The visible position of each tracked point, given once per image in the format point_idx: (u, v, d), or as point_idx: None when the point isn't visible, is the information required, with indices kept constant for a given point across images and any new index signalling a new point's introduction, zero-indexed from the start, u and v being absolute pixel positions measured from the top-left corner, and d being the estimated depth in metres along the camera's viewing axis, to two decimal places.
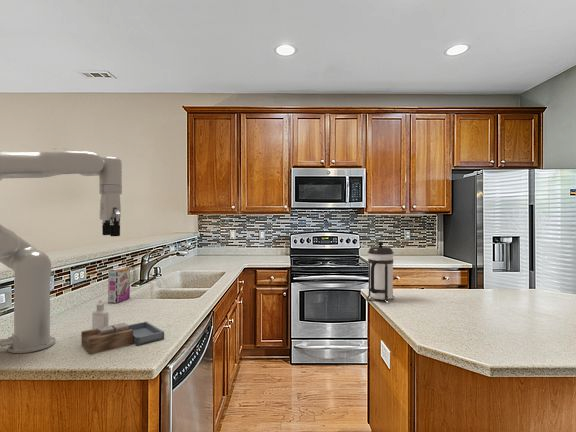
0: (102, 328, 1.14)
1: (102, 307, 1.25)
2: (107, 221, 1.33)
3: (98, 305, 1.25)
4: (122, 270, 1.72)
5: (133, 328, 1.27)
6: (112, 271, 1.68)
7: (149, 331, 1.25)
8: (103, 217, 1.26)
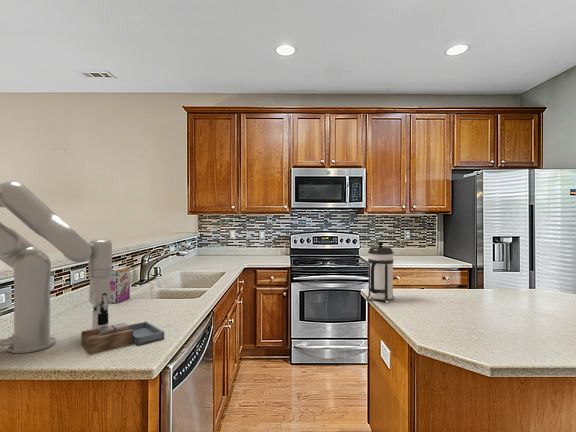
0: (102, 328, 1.14)
1: None
2: None
3: None
4: (122, 270, 1.72)
5: (133, 328, 1.27)
6: (112, 271, 1.68)
7: (149, 331, 1.25)
8: (92, 302, 1.23)
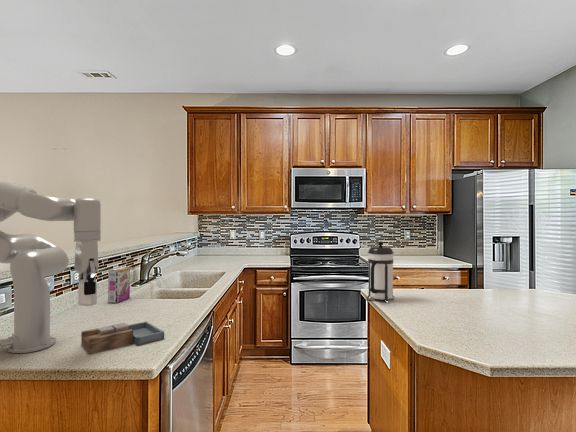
0: (102, 328, 1.14)
1: None
2: None
3: None
4: (122, 270, 1.72)
5: (133, 328, 1.27)
6: (112, 271, 1.68)
7: (149, 331, 1.25)
8: (77, 269, 1.08)
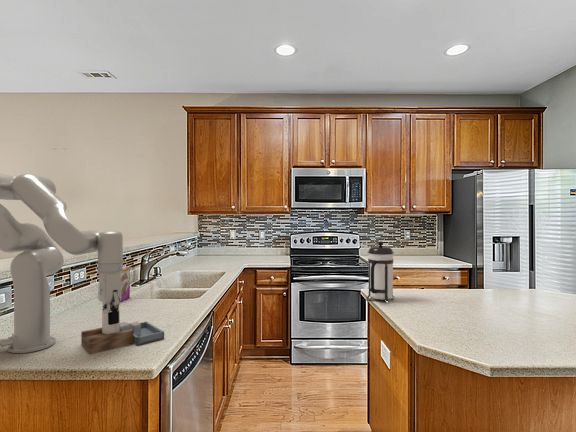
0: None
1: None
2: None
3: None
4: None
5: None
6: None
7: (149, 331, 1.25)
8: (102, 300, 1.13)
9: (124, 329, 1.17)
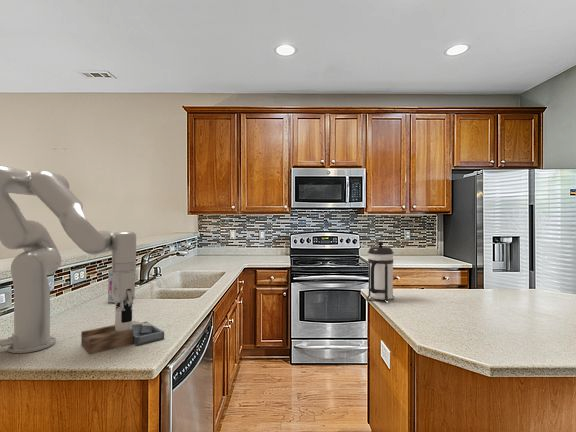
0: None
1: (126, 303, 1.18)
2: None
3: None
4: None
5: None
6: None
7: None
8: (115, 298, 1.15)
9: (135, 328, 1.20)
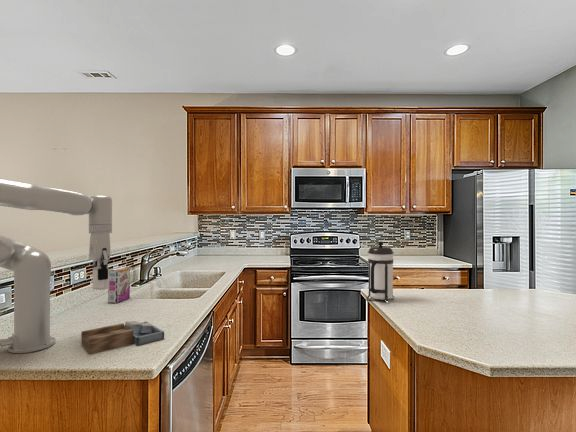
0: (131, 322, 1.21)
1: None
2: None
3: None
4: (122, 270, 1.72)
5: None
6: (112, 271, 1.68)
7: None
8: (92, 257, 1.23)
9: (135, 328, 1.20)
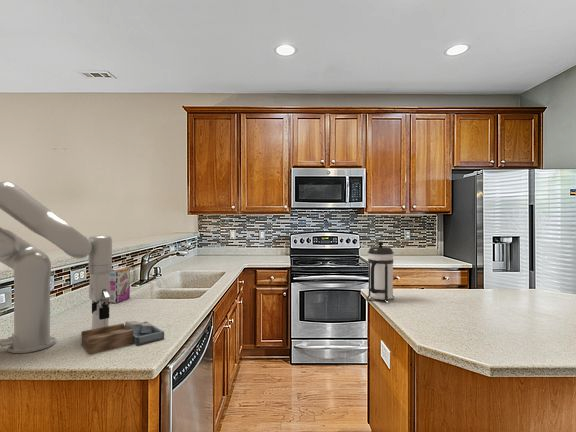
0: (131, 322, 1.21)
1: None
2: None
3: (98, 305, 1.25)
4: (122, 270, 1.72)
5: None
6: (112, 271, 1.68)
7: None
8: (92, 298, 1.23)
9: (135, 328, 1.20)
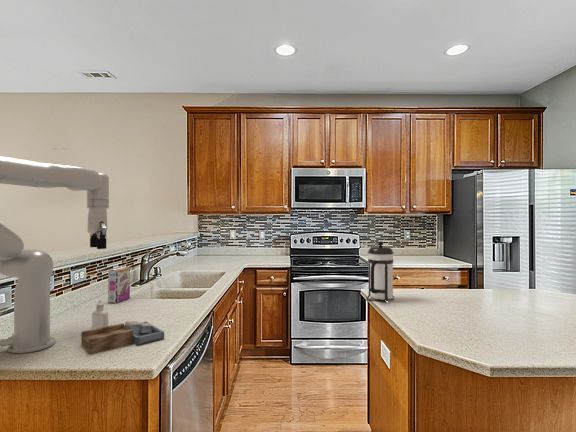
0: (131, 322, 1.21)
1: (102, 307, 1.25)
2: (95, 234, 1.39)
3: (98, 305, 1.25)
4: (122, 270, 1.72)
5: None
6: (112, 271, 1.68)
7: None
8: (90, 230, 1.32)
9: (135, 328, 1.20)
